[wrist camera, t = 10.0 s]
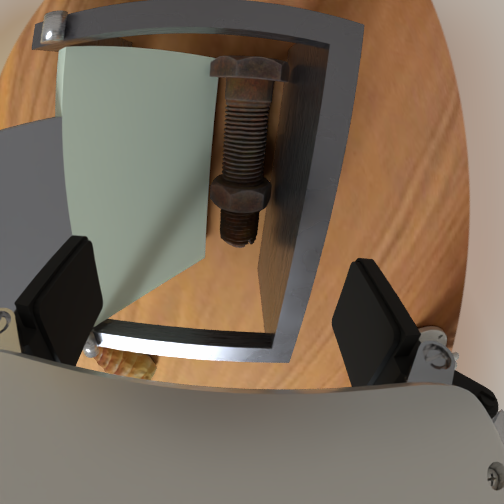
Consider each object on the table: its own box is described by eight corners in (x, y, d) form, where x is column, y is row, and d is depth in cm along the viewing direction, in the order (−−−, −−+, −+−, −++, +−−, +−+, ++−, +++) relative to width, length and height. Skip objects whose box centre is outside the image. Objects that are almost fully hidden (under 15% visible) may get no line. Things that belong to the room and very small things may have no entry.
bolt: (207, 258, 23) (214, 53, 15) (202, 227, 27) (208, 59, 19) (278, 254, 24) (303, 62, 16) (263, 225, 29) (280, 64, 21)
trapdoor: (166, 62, 21) (220, 59, 19) (160, 236, 30) (204, 257, 27) (-88, 96, 5) (-101, 85, 2) (-27, 338, 14) (-4, 391, 11)
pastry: (87, 347, 36) (79, 367, 33) (102, 324, 34) (93, 345, 31) (142, 378, 40) (137, 398, 36) (162, 358, 37) (158, 380, 34)
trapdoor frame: (306, 52, 20) (375, 20, 9) (272, 269, 30) (291, 375, 19) (116, 44, 18) (22, 22, 7) (118, 257, 29) (68, 353, 17)
